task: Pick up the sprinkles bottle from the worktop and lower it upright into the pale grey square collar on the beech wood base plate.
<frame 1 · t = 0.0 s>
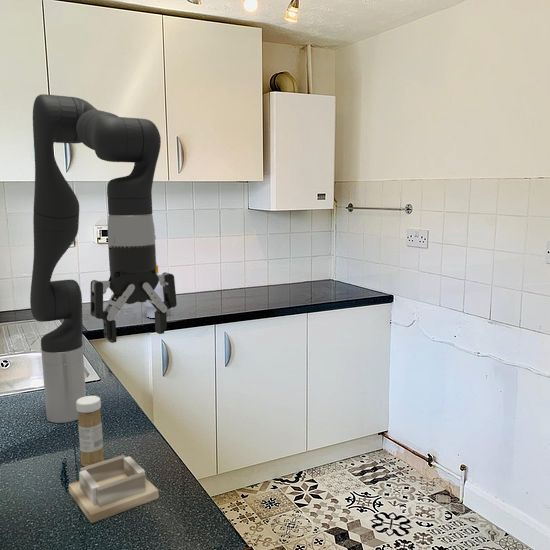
hand: (136, 337, 92), 29 cm above the worktop, fingers open, 8 cm apart
collar base: (113, 494, 97), on the worktop
soap bottle: (155, 317, 234), on the worktop
sprinkles bottle: (92, 463, 109), on the worktop
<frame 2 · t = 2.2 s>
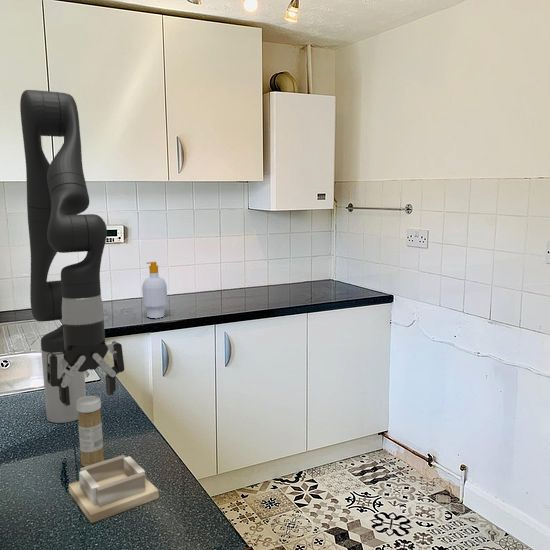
hand: (88, 399, 106), 13 cm above the worktop, fingers open, 8 cm apart
nothing on the worktop moved.
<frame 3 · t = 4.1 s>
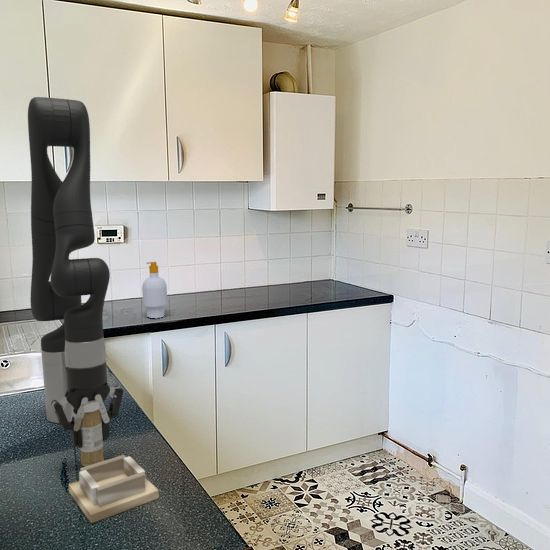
hand: (91, 442, 108), 4 cm above the worktop, fingers closed on sprinkles bottle, 4 cm apart
sprinkles bottle: (92, 463, 109), on the worktop, touching gripper
everything else where it was.
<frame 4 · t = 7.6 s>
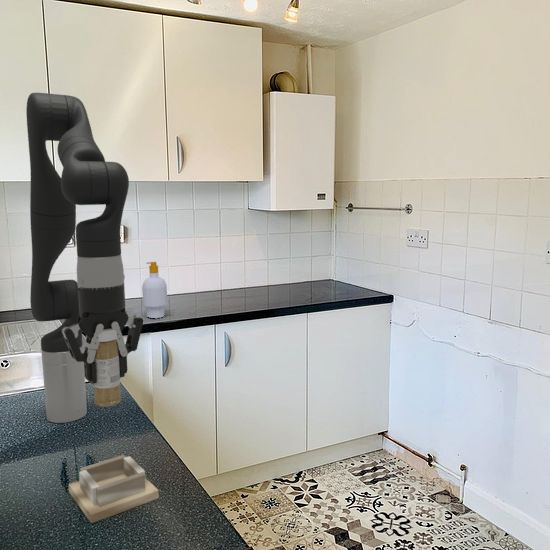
hand: (106, 378, 94), 22 cm above the worktop, fingers closed on sprinkles bottle, 4 cm apart
sprinkles bottle: (108, 403, 95), point 17 cm above the worktop, touching gripper
everything else where it was.
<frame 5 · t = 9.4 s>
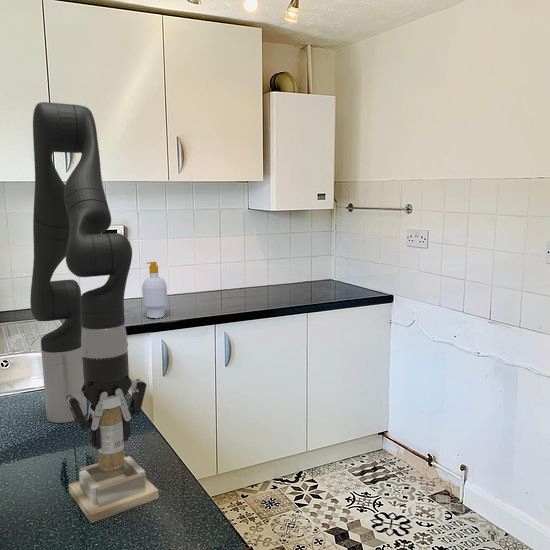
hand: (110, 443, 96), 10 cm above the worktop, fingers closed on sprinkles bottle, 4 cm apart
sprinkles bottle: (111, 467, 96), point 5 cm above the worktop, touching gripper
everything else where it was.
when the fingers open (7 cm above the worktop, at t = 11.2 s): sprinkles bottle drops 1 cm, resting on collar base.
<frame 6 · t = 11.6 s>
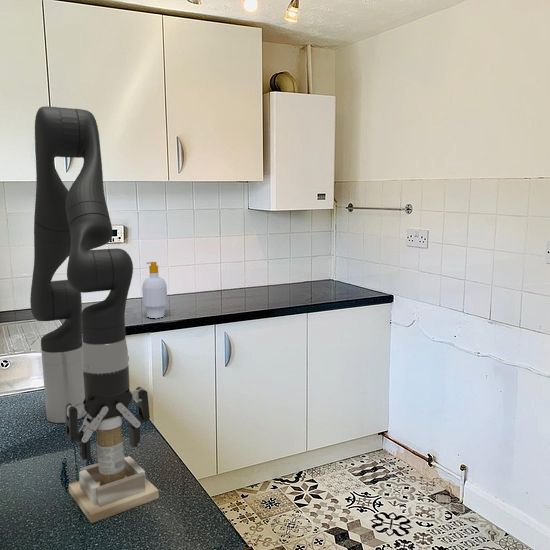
hand: (110, 452, 96), 8 cm above the worktop, fingers open, 8 cm apart
sprinkles bottle: (112, 487, 97), point 1 cm above the worktop, touching collar base
everything else where it was.
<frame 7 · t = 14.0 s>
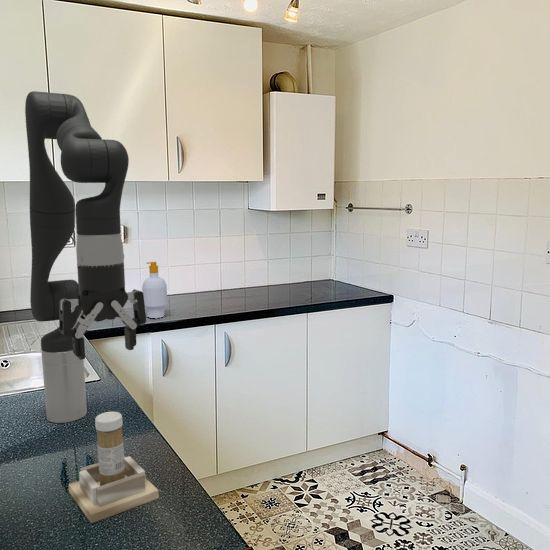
hand: (105, 353, 94), 26 cm above the worktop, fingers open, 8 cm apart
nothing on the worktop moved.
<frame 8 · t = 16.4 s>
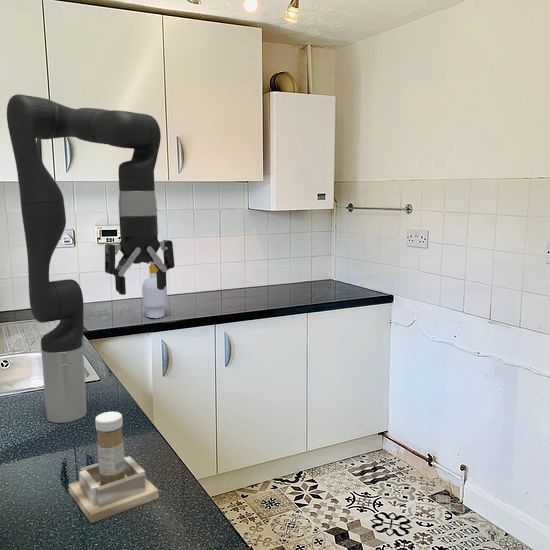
hand: (141, 291, 113), 33 cm above the worktop, fingers open, 8 cm apart
nothing on the worktop moved.
at the end: sprinkles bottle 0.1 cm off-centre on the collar base, point 1.3 cm above the collar base's base; sprinkles bottle tilted 0°; the gripper is holding nothing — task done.
